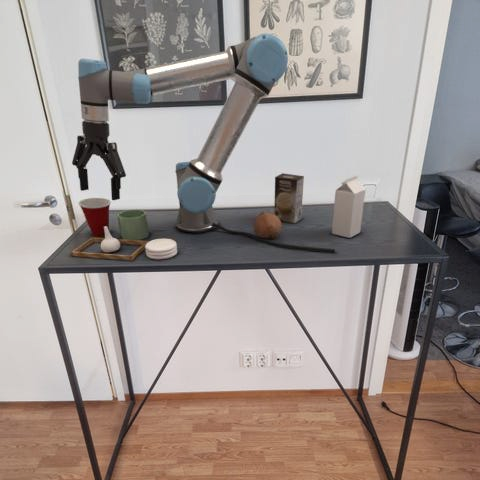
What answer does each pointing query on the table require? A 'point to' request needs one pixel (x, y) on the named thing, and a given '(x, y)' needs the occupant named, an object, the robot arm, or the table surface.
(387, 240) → the table surface
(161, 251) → the coaster
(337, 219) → the milk carton
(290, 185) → the coffee box
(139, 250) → the frame
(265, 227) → the onion
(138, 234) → the cup
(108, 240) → the garlic bulb
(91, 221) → the plastic cup
